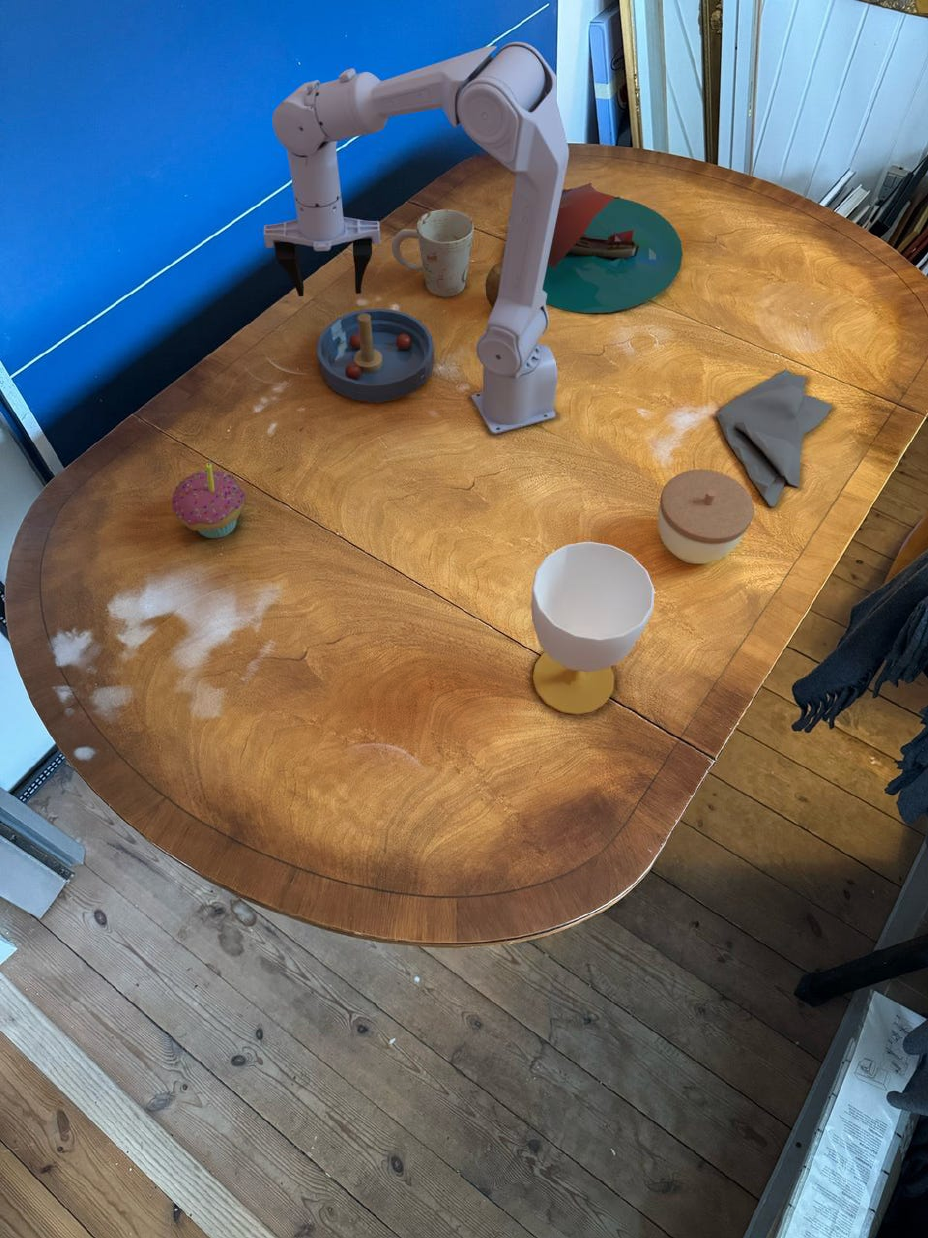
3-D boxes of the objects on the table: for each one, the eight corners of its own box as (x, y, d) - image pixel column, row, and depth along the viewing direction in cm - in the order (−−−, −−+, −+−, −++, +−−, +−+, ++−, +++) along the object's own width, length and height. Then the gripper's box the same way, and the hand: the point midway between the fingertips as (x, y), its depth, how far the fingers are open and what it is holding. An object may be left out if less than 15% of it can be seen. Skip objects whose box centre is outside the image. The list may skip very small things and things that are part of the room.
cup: (549, 741, 95) (567, 658, 80) (503, 654, 100) (511, 562, 86) (645, 703, 97) (678, 615, 83) (594, 621, 103) (617, 526, 89)
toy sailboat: (514, 201, 151) (513, 137, 141) (682, 207, 148) (693, 142, 138) (494, 315, 137) (492, 253, 128) (679, 325, 134) (692, 262, 124)
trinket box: (633, 527, 111) (646, 475, 103) (705, 500, 114) (724, 448, 106) (678, 590, 106) (696, 541, 98) (754, 562, 108) (777, 511, 101)
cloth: (749, 358, 129) (754, 346, 127) (843, 391, 125) (849, 378, 124) (684, 474, 116) (687, 461, 114) (785, 514, 113) (791, 502, 111)
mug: (466, 305, 135) (467, 245, 127) (386, 294, 137) (382, 234, 128) (477, 272, 140) (478, 212, 131) (399, 262, 141) (396, 202, 133)
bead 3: (400, 355, 128) (410, 348, 129) (406, 346, 126) (416, 339, 128) (390, 343, 128) (400, 336, 129) (396, 334, 126) (406, 328, 127)
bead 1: (370, 339, 128) (359, 328, 128) (360, 344, 126) (350, 333, 126) (363, 349, 129) (353, 338, 129) (354, 354, 128) (343, 342, 128)
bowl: (411, 318, 133) (410, 298, 130) (450, 387, 125) (450, 368, 122) (306, 343, 130) (303, 323, 127) (339, 416, 122) (336, 396, 119)
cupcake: (262, 508, 112) (244, 439, 102) (231, 559, 108) (208, 492, 98) (201, 491, 114) (177, 421, 104) (168, 540, 109) (139, 472, 99)
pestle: (382, 354, 128) (378, 307, 121) (382, 373, 126) (379, 326, 119) (354, 355, 128) (349, 308, 121) (354, 374, 126) (349, 327, 119)
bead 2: (357, 358, 124) (353, 369, 122) (365, 370, 125) (362, 380, 124) (344, 362, 125) (340, 373, 123) (352, 374, 126) (349, 384, 125)
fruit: (533, 313, 134) (537, 266, 128) (500, 328, 132) (502, 281, 126) (509, 292, 137) (512, 245, 130) (476, 306, 135) (477, 259, 128)
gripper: (256, 215, 106) (274, 311, 117) (378, 210, 107) (384, 306, 118) (258, 182, 110) (276, 278, 121) (376, 178, 111) (382, 274, 122)
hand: (329, 290), depth 120 cm, fingers open, 7 cm apart
